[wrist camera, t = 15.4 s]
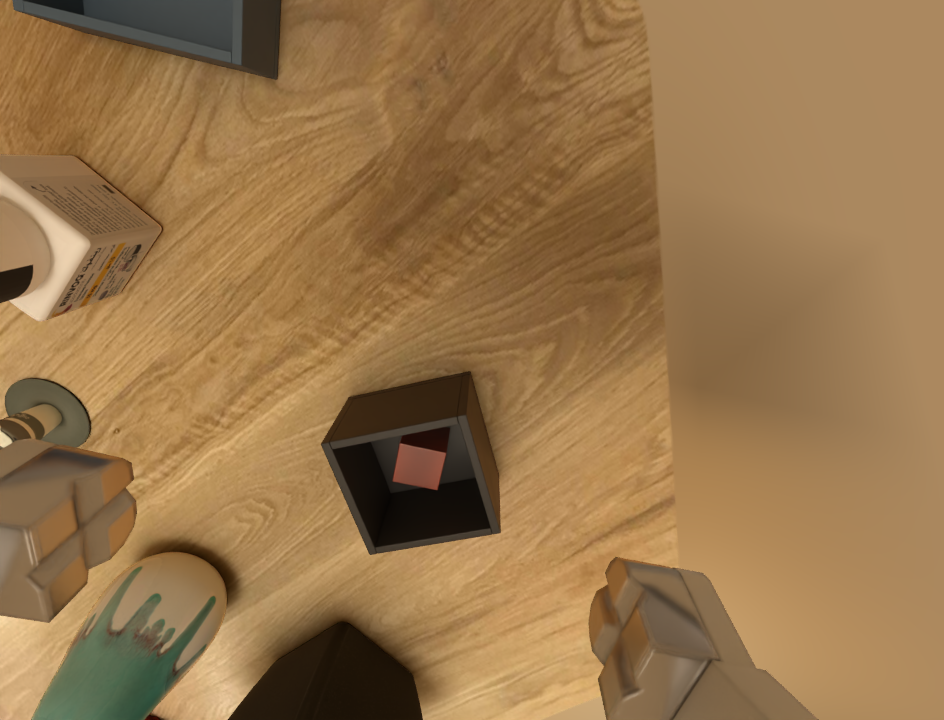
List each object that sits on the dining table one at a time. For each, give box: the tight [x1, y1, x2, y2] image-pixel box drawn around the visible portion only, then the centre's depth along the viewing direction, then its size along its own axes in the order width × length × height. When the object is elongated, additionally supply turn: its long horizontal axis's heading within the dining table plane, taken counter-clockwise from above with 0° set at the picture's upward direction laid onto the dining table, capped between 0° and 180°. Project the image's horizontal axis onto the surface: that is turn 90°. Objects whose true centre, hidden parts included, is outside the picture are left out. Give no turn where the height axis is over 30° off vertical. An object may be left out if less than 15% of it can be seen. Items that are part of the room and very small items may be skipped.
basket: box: [321, 372, 501, 555], centre depth 40 cm, size 11×11×8 cm
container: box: [0, 154, 162, 321], centre depth 31 cm, size 8×8×13 cm
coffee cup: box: [0, 379, 89, 450], centre depth 41 cm, size 12×12×5 cm
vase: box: [31, 552, 227, 720], centre depth 43 cm, size 12×12×18 cm
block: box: [393, 427, 450, 490], centre depth 41 cm, size 4×4×4 cm
